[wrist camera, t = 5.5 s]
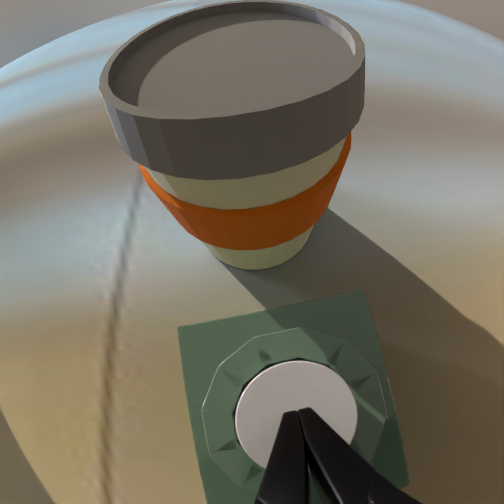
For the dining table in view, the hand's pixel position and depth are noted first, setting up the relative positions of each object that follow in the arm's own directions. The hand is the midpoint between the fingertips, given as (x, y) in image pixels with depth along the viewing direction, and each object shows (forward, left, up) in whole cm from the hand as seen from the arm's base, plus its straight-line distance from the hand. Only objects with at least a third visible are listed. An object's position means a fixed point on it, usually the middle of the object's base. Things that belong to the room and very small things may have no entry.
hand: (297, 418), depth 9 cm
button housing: (0, 0, -11) cm, 11 cm away
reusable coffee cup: (+14, +4, -11) cm, 18 cm away
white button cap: (0, 0, -3) cm, 3 cm away
